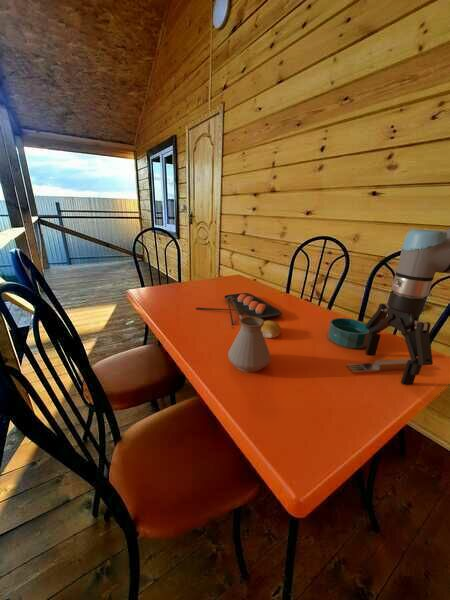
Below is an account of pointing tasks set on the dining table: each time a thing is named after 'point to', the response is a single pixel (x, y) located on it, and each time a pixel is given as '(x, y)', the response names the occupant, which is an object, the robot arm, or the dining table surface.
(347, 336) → the bowl
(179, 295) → the dining table surface
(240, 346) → the coffee pot
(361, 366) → the fork
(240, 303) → the sushi plate
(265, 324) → the bread roll
